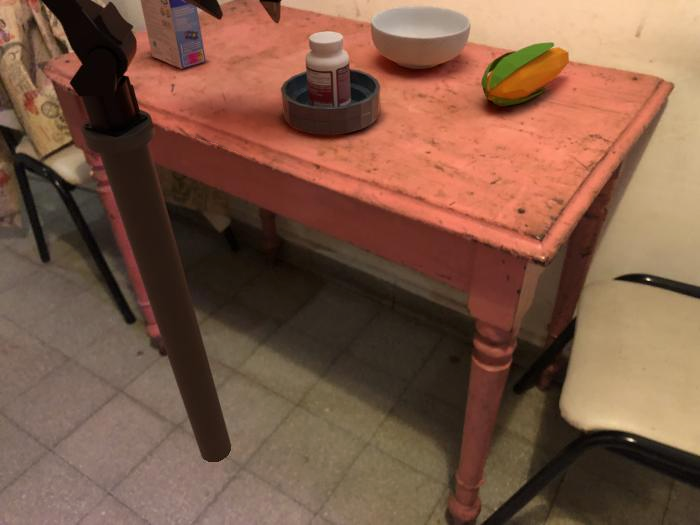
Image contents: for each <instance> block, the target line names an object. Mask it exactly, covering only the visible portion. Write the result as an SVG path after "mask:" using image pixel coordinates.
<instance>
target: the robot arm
mask: <svg viewBox="0 0 700 525" xmlns="http://www.w3.org/2000/svg"><path fill="white" fill-rule="evenodd" d="M40 1H41V2H42V3H43V5H44V6H45V7H46V8H47V9H48V10H49V11H50V12H51V14H52V15H53V16H54V17H55V18H56V19H57V20H58V22H59V23H60V25H61V27H62V30H63V32H64V34H65V36H66V39H67V41H68V44H69V46H70V48H71V50H72V51H73V53H74V55H75V56H76V57H77V59H78V60H79V62H80V63H81V65H80V67H79V68H78V70H77V71H76V72H75V73H74V75H73V77H71V79H70V81H69V85H70V86H71V88H72V89H73V90H74V91H75V93H76V94H77V96H78V97H81V100H82V103H83V105H84V109H85V112H86V114H87V118H88V119H89V121H90V122H89V123H87V124H85V125H84V128H85V129H86V130H90V131H94V132H98V133H102V134H106V135H109V136H113V137H119V136H121V135H123V134H124V133H126V132H127V131H129V130H131V129H132V128H134V127H136V126H137V125H139V124H140V123H142V122H144V121H145V120H147V119H148V116H147V115H145V114H140V113H139V112H140V110H141V109H140V105H139V102H138V99H137V98H138V97H137V96H136V91H135V87H134V85H133V84H131V79H130V76H129V75H126V72H128V69H129V67H130V65H131V63H132V61H133V60H134V57H135V56H136V53H137V52H138V51H137V50H138V40H137V38H136V36H135V34H134V32H133V31H132V30H133V29H134V25H133V24H131V23H130V22H128V20H126V19H125V18H124V17H123V16H122V15H121V12H120V11H119V10H118V7H117V6H116V5H115V4H114V3H113V2H112V1H109V2H108V3H106V5H105V6H102V5H100V4H98V3H97V2H95V1H93V0H40ZM184 1H186V2H188V3H190V4H192V5H194V6H196V7H197V9H199V10H201V11H203V12H204V13H207V14H208V15H210V16H211V17H213V18H215V19H217V20H219V21H221V20H222V19H223V16H224V13H223V11H222V8H221V6H220V4H219V1H218V0H184ZM258 1H259V3H260V5H261V6H262V7H263V8H264V10H265V11H266V13H267V15H268V16H269V17H270V19H271V20H272V21H273V22H274V23H275V24H279V23H280V21H281V12H282V10H281V6H282V0H258Z"/></svg>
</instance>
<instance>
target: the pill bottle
mask: <svg viewBox="0 0 700 525" xmlns="http://www.w3.org/2000/svg"><path fill="white" fill-rule="evenodd" d="M308 46H309V49H310V51H309V52H308V53H307V54H306V56H305V70H306V71H305V72H306V73H307V85H308V96H309V105H311V106H317V107H335V106H345V105H349V104H351V92H350V69H351V67H350V56H349V53H348V52H347V51H346V50H345V49H343V48H344V36H343V35H342V34H341V33H339V32H337V31H329V30H328V31H319V32H314V33H312V34H311V35H309V37H308Z"/></svg>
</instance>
